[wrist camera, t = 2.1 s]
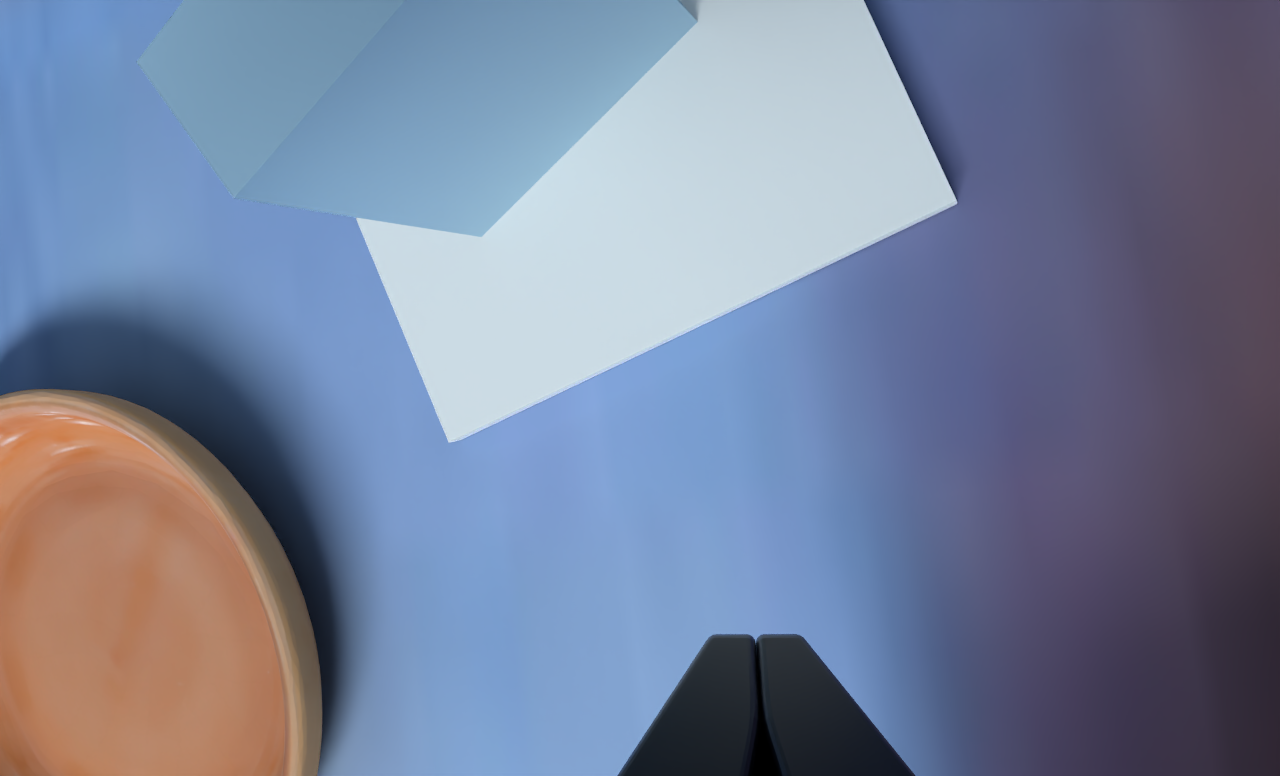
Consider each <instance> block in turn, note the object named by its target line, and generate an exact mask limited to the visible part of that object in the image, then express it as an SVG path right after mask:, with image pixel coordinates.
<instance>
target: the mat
mask: <svg viewBox="0 0 1280 776" xmlns="http://www.w3.org/2000/svg"><path fill="white" fill-rule="evenodd" d="M680 2H681V3H682V4H683V5H684V6H685V7H686V9H687V10H688V11H689V12H690V13H691V14H692V16H693V17H694V18H695V19H696V20H697V23H696V24H695V25H694V26H693V27H692V28H691V29H690V30H689V31H688V32H687V33H686V34H685V35H684V36H683V37H682V38H681V39H680V40H679V41H678V42H677V43H676V44H675V45H674V46H673V47H672V48H671V49H670V50H669V51H668V52H667V53H666V54H665V55H664V56H663V57H662V58H661V59H660V60H659V61H658V62H657V63H656V64H655V65H654V66H653V67H652V68H651V69H650V70H649V71H648V72H647V73H646V74H645V75H644V76H643V77H642V78H641V79H640V80H639V81H638V82H637V83H636V84H635V85H634V86H633V87H632V88H631V89H630V90H629V91H628V92H627V93H626V94H625V95H624V96H623V97H622V98H621V99H620V100H619V101H618V102H617V103H616V104H615V105H614V106H613V107H612V108H611V109H610V110H609V111H608V112H607V113H606V114H605V115H604V116H603V117H602V118H601V119H600V120H599V121H598V122H597V123H596V124H595V125H594V126H593V127H592V128H591V129H590V130H589V131H588V132H587V133H586V134H585V135H584V136H583V137H582V138H581V139H580V140H579V141H578V142H577V143H576V144H575V145H574V146H573V147H572V148H571V149H570V150H569V151H568V152H567V153H566V154H565V155H564V156H563V157H562V158H561V159H559V160H558V161H557V162H556V163H555V164H554V165H553V166H552V167H551V168H550V169H549V170H548V171H547V172H546V173H545V174H544V175H543V176H542V177H541V178H540V179H539V180H538V181H537V182H536V183H535V184H534V185H533V186H532V187H531V188H530V189H529V190H528V191H527V192H526V193H525V194H524V195H523V196H522V197H521V198H520V199H519V200H518V201H517V202H516V203H515V204H514V205H513V206H512V207H511V208H510V209H509V210H508V211H507V212H506V213H505V214H504V215H503V216H502V217H501V218H500V219H499V220H498V221H497V222H496V223H495V224H494V225H493V226H492V227H491V228H490V229H489V230H488V231H487V232H486V233H485V234H484V235H483V236H482V237H478V236H471V235H465V234H459V233H452V232H446V231H439V230H433V229H426V228H420V227H414V226H407V225H401V224H394V223H388V222H382V221H375V220H369V219H362V218H356V219H357V222H358V224H359V227H360V229H361V231H362V234H363V236H364V239H365V241H366V244H367V246H368V248H369V251H370V253H371V256H372V258H373V260H374V263H375V265H376V268H377V270H378V273H379V275H380V277H381V280H382V282H383V285H384V287H385V289H386V292H387V294H388V297H389V299H390V302H391V304H392V306H393V309H394V311H395V314H396V316H397V318H398V321H399V323H400V326H401V328H402V331H403V333H404V335H405V338H406V340H407V343H408V345H409V347H410V350H411V352H412V355H413V357H414V360H415V362H416V364H417V367H418V369H419V372H420V374H421V376H422V379H423V381H424V384H425V386H426V389H427V391H428V393H429V396H430V398H431V401H432V403H433V405H434V408H435V410H436V413H437V415H438V417H439V420H440V422H441V425H442V427H443V430H444V432H445V434H446V437H447V439H448V442H449V443H450V442H454V441H458V440H462V439H464V438H466V437H468V436H470V435H472V434H474V433H476V432H479V431H481V430H483V429H485V428H487V427H489V426H491V425H493V424H495V423H497V422H500V421H502V420H504V419H506V418H508V417H510V416H512V415H514V414H516V413H519V412H521V411H523V410H525V409H527V408H529V407H531V406H533V405H535V404H537V403H540V402H542V401H544V400H546V399H548V398H550V397H552V396H554V395H556V394H558V393H561V392H563V391H565V390H567V389H569V388H571V387H573V386H575V385H577V384H580V383H582V382H584V381H586V380H588V379H590V378H592V377H594V376H596V375H598V374H601V373H603V372H605V371H607V370H609V369H611V368H613V367H615V366H617V365H619V364H622V363H624V362H626V361H628V360H630V359H632V358H634V357H636V356H638V355H641V354H643V353H645V352H647V351H649V350H651V349H653V348H655V347H657V346H659V345H662V344H664V343H666V342H668V341H670V340H672V339H674V338H676V337H678V336H680V335H683V334H685V333H687V332H689V331H691V330H693V329H695V328H697V327H699V326H702V325H704V324H706V323H708V322H710V321H712V320H714V319H716V318H718V317H720V316H723V315H725V314H727V313H729V312H731V311H733V310H735V309H737V308H739V307H741V306H744V305H746V304H748V303H750V302H752V301H754V300H756V299H758V298H760V297H763V296H765V295H767V294H769V293H771V292H773V291H775V290H777V289H779V288H781V287H784V286H786V285H788V284H790V283H792V282H794V281H796V280H798V279H800V278H802V277H805V276H807V275H809V274H811V273H813V272H815V271H817V270H819V269H821V268H824V267H826V266H828V265H830V264H832V263H834V262H836V261H838V260H840V259H842V258H845V257H847V256H849V255H851V254H853V253H855V252H857V251H859V250H861V249H863V248H866V247H868V246H870V245H872V244H874V243H876V242H878V241H880V240H882V239H885V238H887V237H889V236H891V235H893V234H895V233H897V232H899V231H901V230H903V229H906V228H908V227H910V226H912V225H914V224H916V223H918V222H920V221H922V220H924V219H927V218H929V217H931V216H933V215H935V214H937V213H939V212H941V211H943V210H946V209H948V208H950V207H952V206H954V205H956V204H957V200H956V198H955V196H954V194H953V191H952V189H951V187H950V185H949V183H948V181H947V179H946V176H945V174H944V172H943V170H942V168H941V166H940V163H939V161H938V159H937V157H936V155H935V153H934V151H933V148H932V146H931V144H930V142H929V140H928V138H927V135H926V133H925V131H924V129H923V127H922V125H921V123H920V120H919V118H918V116H917V114H916V112H915V110H914V107H913V105H912V103H911V101H910V99H909V97H908V94H907V92H906V90H905V88H904V86H903V84H902V82H901V79H900V77H899V75H898V73H897V71H896V69H895V66H894V64H893V62H892V60H891V58H890V56H889V54H888V51H887V49H886V47H885V45H884V43H883V41H882V38H881V36H880V34H879V32H878V30H877V28H876V26H875V23H874V21H873V19H872V17H871V15H870V13H869V10H868V8H867V6H866V4H865V2H864V0H680Z"/></svg>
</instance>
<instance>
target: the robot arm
mask: <svg viewBox="0 0 1280 776" xmlns="http://www.w3.org/2000/svg"><path fill="white" fill-rule="evenodd" d="M618 776H915V775H914V773H913V772H912V771H911V770H910V769H909V767H908V766H907V765H906V764H905V762H904V761H903V760H902V759H901V757H900V756H899V755H898V754H897V752H896V751H895V750H894V749H893V748H892V746H891V745H890V744H889V743H888V741H887V740H886V739H885V738H884V736H883V735H882V734H881V733H880V732H879V730H878V729H877V728H876V727H875V725H874V724H873V723H872V722H871V720H870V719H869V718H868V717H867V715H866V714H865V713H864V712H863V711H862V709H861V708H860V707H859V706H858V704H857V703H856V702H855V701H854V699H853V698H852V697H851V696H850V694H849V693H848V692H847V691H846V690H845V688H844V687H843V686H842V685H841V683H840V682H839V681H838V680H837V678H836V677H835V676H834V675H833V674H832V672H831V671H830V670H829V669H828V667H827V666H826V665H825V664H824V662H823V661H822V660H821V659H820V657H819V656H818V655H817V654H816V653H815V651H814V650H813V649H812V648H811V646H810V645H809V644H808V643H807V641H806V640H805V639H804V638H803V637H802V636H800V635H797V634H763V635H760V636H759V637H758V638H757V640H756V643H755V640H754V638H753V637H752V636H751V635H748V634H716V635H712V636H710V637H709V638H708V640H707V641H706V642H705V644H704V645H703V647H702V648H701V650H700V651H699V653H698V654H697V656H696V657H695V659H694V660H693V662H692V663H691V665H690V667H689V668H688V670H687V671H686V673H685V674H684V676H683V677H682V679H681V680H680V682H679V683H678V685H677V686H676V688H675V689H674V691H673V692H672V694H671V695H670V697H669V698H668V700H667V701H666V703H665V704H664V706H663V707H662V709H661V710H660V712H659V714H658V715H657V717H656V718H655V720H654V721H653V723H652V724H651V726H650V727H649V729H648V730H647V732H646V733H645V735H644V736H643V738H642V739H641V741H640V742H639V744H638V745H637V747H636V748H635V750H634V751H633V753H632V754H631V756H630V757H629V759H628V761H627V762H626V764H625V765H624V767H623V768H622V770H621V771H620V773H619V774H618Z"/></svg>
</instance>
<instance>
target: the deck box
mask: <svg viewBox="0 0 1280 776" xmlns="http://www.w3.org/2000/svg"><path fill="white" fill-rule="evenodd" d="M696 23H697V20H696V19H695V18H694V17H693V16H692V14H691V13H690V12H689V11H688V10H687V9H686V7H685V6H684V5H683V4H682V3H681V2H680V0H183V2H182V3H181V4H180V6H179V7H178V8H177V10H176V11H175V12H174V13H173V15H172V16H171V17H170V19H169V20H168V21H167V23H166V24H165V25H164V26H163V28H162V29H161V30H160V32H159V33H158V34H157V36H156V37H155V38H154V40H153V41H152V42H151V43H150V45H149V46H148V47H147V49H146V50H145V51H144V53H143V54H142V55H141V56H140V58H139V59H138V60H137V64H138V65H139V66H140V68H141V69H142V71H143V72H144V73H145V75H146V76H147V78H148V79H149V80H150V82H151V83H152V85H153V86H154V87H155V89H156V90H157V92H158V93H159V94H160V96H161V97H162V99H163V100H164V101H165V103H166V104H167V106H168V107H169V108H170V110H171V111H172V113H173V114H174V116H175V117H176V118H177V120H178V121H179V123H180V124H181V125H182V127H183V128H184V130H185V131H186V132H187V134H188V135H189V137H190V138H191V139H192V141H193V142H194V144H195V145H196V146H197V148H198V149H199V151H200V152H201V153H202V155H203V156H204V158H205V159H206V160H207V162H208V163H209V165H210V166H211V167H212V169H213V170H214V172H215V173H216V174H217V176H218V177H219V179H220V180H221V181H222V183H223V184H224V186H225V187H226V188H227V190H228V191H229V193H230V194H231V196H232V197H233V198H234V199H240V200H247V201H253V202H259V203H266V204H272V205H279V206H285V207H292V208H298V209H304V210H311V211H317V212H324V213H330V214H337V215H343V216H349V217H356V218H362V219H369V220H375V221H382V222H388V223H394V224H401V225H407V226H414V227H420V228H426V229H433V230H439V231H446V232H452V233H459V234H465V235H471V236H478V237H482V236H483V235H484V234H485V233H486V232H487V231H488V230H489V229H490V228H491V227H492V226H493V225H494V224H495V223H496V222H497V221H498V220H499V219H500V218H501V217H502V216H503V215H504V214H505V213H506V212H507V211H508V210H509V209H510V208H511V207H512V206H513V205H514V204H515V203H516V202H517V201H518V200H519V199H520V198H521V197H522V196H523V195H524V194H525V193H526V192H527V191H528V190H529V189H530V188H531V187H532V186H533V185H534V184H535V183H536V182H537V181H538V180H539V179H540V178H541V177H542V176H543V175H544V174H545V173H546V172H547V171H548V170H549V169H550V168H551V167H552V166H553V165H554V164H555V163H556V162H557V161H558V160H559V159H561V158H562V157H563V156H564V155H565V154H566V153H567V152H568V151H569V150H570V149H571V148H572V147H573V146H574V145H575V144H576V143H577V142H578V141H579V140H580V139H581V138H582V137H583V136H584V135H585V134H586V133H587V132H588V131H589V130H590V129H591V128H592V127H593V126H594V125H595V124H596V123H597V122H598V121H599V120H600V119H601V118H602V117H603V116H604V115H605V114H606V113H607V112H608V111H609V110H610V109H611V108H612V107H613V106H614V105H615V104H616V103H617V102H618V101H619V100H620V99H621V98H622V97H623V96H624V95H625V94H626V93H627V92H628V91H629V90H630V89H631V88H632V87H633V86H634V85H635V84H636V83H637V82H638V81H639V80H640V79H641V78H642V77H643V76H644V75H645V74H646V73H647V72H648V71H649V70H650V69H651V68H652V67H653V66H654V65H655V64H656V63H657V62H658V61H659V60H660V59H661V58H662V57H663V56H664V55H665V54H666V53H667V52H668V51H669V50H670V49H671V48H672V47H673V46H674V45H675V44H676V43H677V42H678V41H679V40H680V39H681V38H682V37H683V36H684V35H685V34H686V33H687V32H688V31H689V30H690V29H691V28H692V27H693V26H694V25H695V24H696Z"/></svg>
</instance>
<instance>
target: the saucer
mask: <svg viewBox="0 0 1280 776" xmlns="http://www.w3.org/2000/svg"><path fill="white" fill-rule="evenodd" d="M321 740H322V691H321V675H320V665H319V659H318V652H317V646H316V641H315V637H314V632H313V627H312V624H311V620H310V617H309V613H308V610H307V606H306V603H305V599H304V596H303V594H302V591H301V589H300V586H299V583H298V581H297V578H296V576H295V573H294V570H293V568H292V566H291V564H290V562H289V560H288V558H287V556H286V553H285V551H284V549H283V547H282V545H281V543H280V542H279V540H278V538H277V536H276V534H275V533H274V531H273V529H272V527H271V526H270V524H269V523H268V521H267V520H266V518H265V517H264V515H263V514H262V512H261V511H260V509H259V508H258V507H257V505H256V504H255V503H254V501H253V500H252V498H251V497H250V496H249V494H248V493H247V492H246V491H245V489H244V488H243V487H242V486H241V485H240V484H239V482H238V481H237V480H236V479H235V477H234V476H233V475H232V474H231V473H230V471H229V470H228V469H227V468H226V467H225V466H224V465H223V464H222V463H221V462H220V461H219V460H218V459H217V458H216V457H215V456H214V455H213V454H212V453H211V452H210V451H209V450H207V449H206V448H205V447H204V446H203V445H202V444H201V443H199V442H198V441H197V440H196V439H195V438H193V437H192V436H191V435H189V434H188V433H187V432H185V431H184V430H182V429H181V428H180V427H178V426H177V425H175V424H173V423H172V422H170V421H169V420H167V419H165V418H164V417H162V416H160V415H158V414H156V413H154V412H153V411H151V410H149V409H147V408H145V407H142V406H140V405H137V404H135V403H132V402H129V401H126V400H123V399H120V398H117V397H114V396H110V395H105V394H99V393H94V392H87V391H76V390H61V389H32V390H23V391H17V392H12V393H7V394H4V395H1V396H0V776H317V772H318V767H319V760H320V750H321Z"/></svg>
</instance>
